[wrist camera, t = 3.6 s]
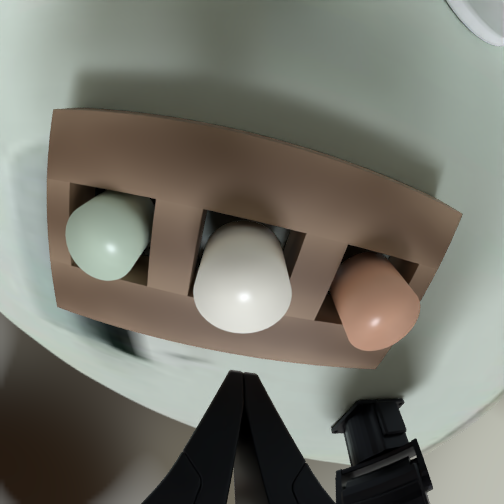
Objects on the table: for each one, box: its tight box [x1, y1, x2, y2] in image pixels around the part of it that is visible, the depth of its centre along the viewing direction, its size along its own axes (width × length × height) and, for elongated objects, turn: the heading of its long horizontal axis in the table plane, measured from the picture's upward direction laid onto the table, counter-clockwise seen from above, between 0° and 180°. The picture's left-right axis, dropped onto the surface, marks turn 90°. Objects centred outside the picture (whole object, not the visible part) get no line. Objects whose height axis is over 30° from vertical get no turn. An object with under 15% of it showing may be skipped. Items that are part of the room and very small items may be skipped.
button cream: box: [193, 220, 292, 333], centre depth 13 cm, size 4×4×4 cm
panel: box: [47, 108, 462, 369], centre depth 15 cm, size 12×22×3 cm, turn 76°
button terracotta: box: [330, 252, 420, 351], centre depth 14 cm, size 4×4×4 cm
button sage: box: [65, 189, 155, 281], centre depth 14 cm, size 4×4×4 cm
